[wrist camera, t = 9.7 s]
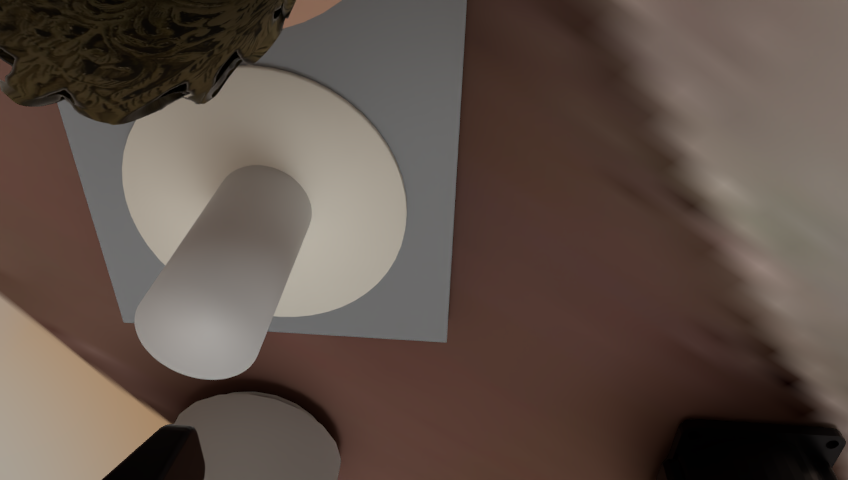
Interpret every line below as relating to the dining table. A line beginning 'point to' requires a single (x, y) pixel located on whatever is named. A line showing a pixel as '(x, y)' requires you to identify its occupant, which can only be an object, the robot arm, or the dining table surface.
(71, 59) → the decorative vase
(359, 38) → the board
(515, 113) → the dining table surface
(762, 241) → the dining table surface
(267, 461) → the can
